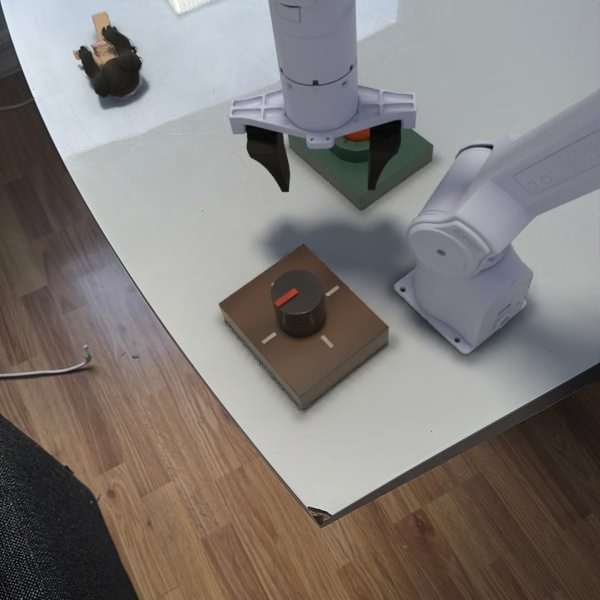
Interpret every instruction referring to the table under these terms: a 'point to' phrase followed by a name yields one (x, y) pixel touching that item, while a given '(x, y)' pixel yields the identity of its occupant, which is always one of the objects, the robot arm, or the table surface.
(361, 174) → the button box
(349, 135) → the button
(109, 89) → the toy figure
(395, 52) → the table surface
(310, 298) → the knob
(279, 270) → the panel
